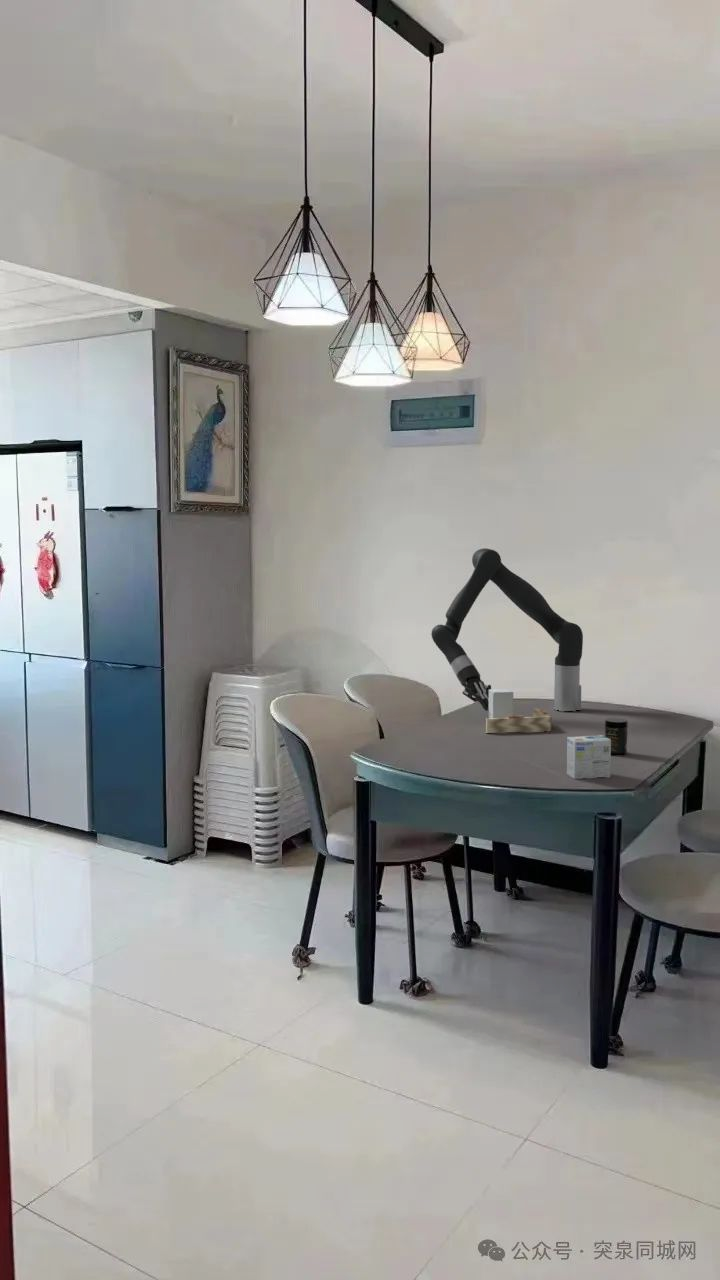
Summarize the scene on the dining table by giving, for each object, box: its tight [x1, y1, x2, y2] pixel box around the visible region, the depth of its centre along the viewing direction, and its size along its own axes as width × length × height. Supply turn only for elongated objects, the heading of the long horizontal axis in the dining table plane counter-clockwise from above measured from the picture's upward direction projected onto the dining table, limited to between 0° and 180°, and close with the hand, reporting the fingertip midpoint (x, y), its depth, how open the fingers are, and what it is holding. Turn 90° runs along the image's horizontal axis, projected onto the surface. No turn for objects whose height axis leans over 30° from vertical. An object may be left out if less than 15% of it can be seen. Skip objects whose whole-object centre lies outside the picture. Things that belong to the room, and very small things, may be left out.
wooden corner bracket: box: [485, 707, 552, 734], centre depth 337 cm, size 23×17×6 cm
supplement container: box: [604, 717, 629, 756], centre depth 298 cm, size 7×7×10 cm
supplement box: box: [488, 688, 514, 718], centre depth 340 cm, size 7×7×13 cm
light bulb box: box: [566, 734, 612, 780], centre depth 272 cm, size 11×7×11 cm, turn 99°
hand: (489, 709), depth 344 cm, fingers closed
